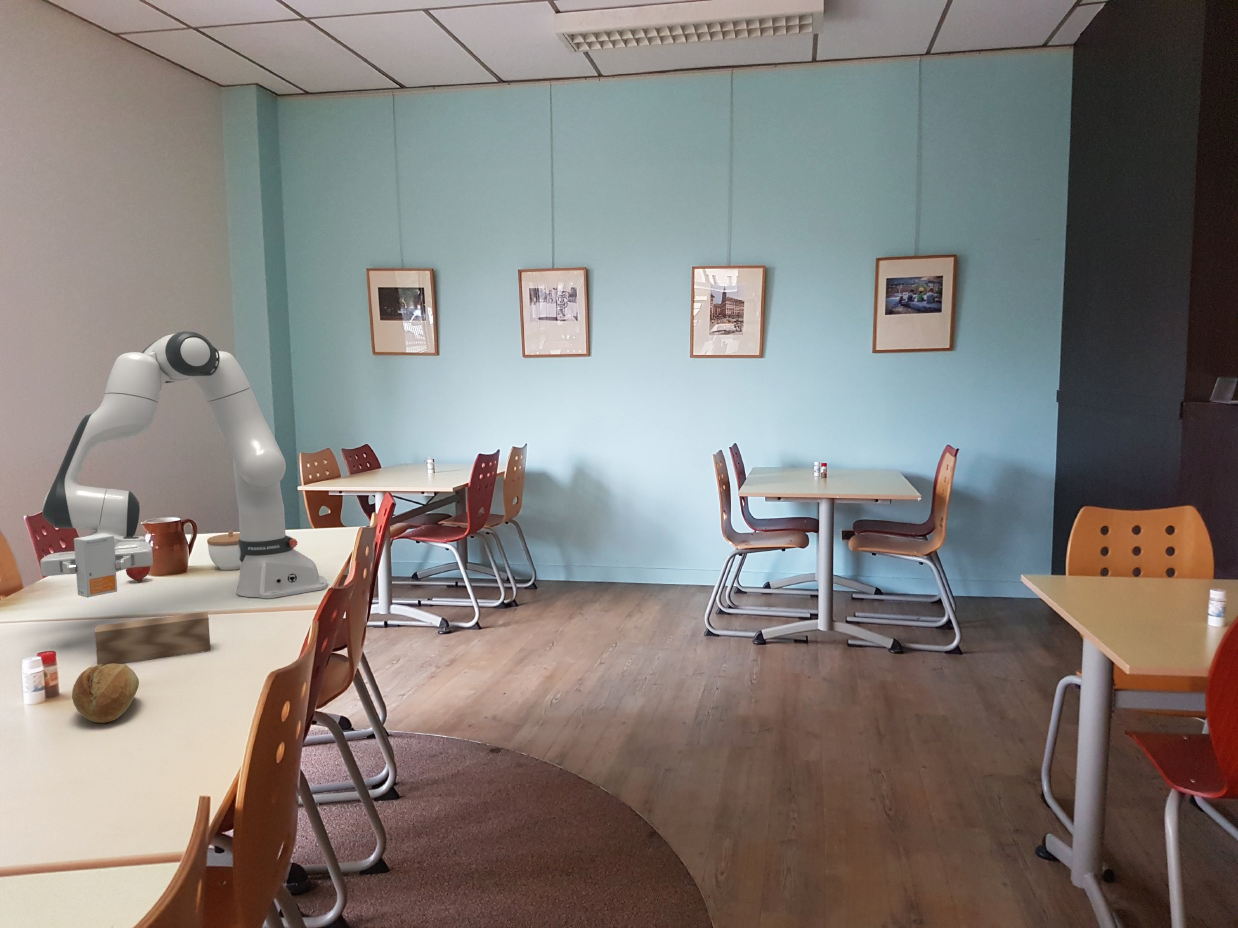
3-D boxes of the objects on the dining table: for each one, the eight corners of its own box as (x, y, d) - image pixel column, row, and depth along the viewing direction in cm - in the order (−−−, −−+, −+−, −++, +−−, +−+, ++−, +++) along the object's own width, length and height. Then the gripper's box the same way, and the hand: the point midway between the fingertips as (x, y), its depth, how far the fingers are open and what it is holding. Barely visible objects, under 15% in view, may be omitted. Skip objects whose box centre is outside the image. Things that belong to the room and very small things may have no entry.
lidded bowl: (264, 565, 251) (262, 529, 250) (225, 574, 240) (223, 536, 239) (239, 560, 258) (237, 525, 257) (200, 569, 247) (197, 532, 246)
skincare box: (87, 598, 170) (82, 540, 168) (77, 595, 172) (72, 538, 171) (119, 591, 175) (114, 535, 174) (108, 588, 177) (104, 533, 176)
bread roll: (68, 734, 134) (64, 686, 133) (79, 702, 148) (75, 658, 147) (137, 722, 139) (134, 675, 138) (142, 692, 152) (139, 649, 151)
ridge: (209, 643, 179) (207, 611, 178) (210, 650, 174) (208, 617, 174) (99, 659, 169) (96, 625, 169) (97, 666, 165) (94, 632, 164)
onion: (126, 585, 229) (124, 556, 228) (127, 580, 234) (125, 552, 233) (150, 582, 231) (148, 554, 231) (151, 578, 237) (149, 550, 236)
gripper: (43, 545, 179) (33, 558, 167) (152, 536, 189) (150, 547, 176) (45, 574, 180) (35, 589, 168) (154, 563, 189) (152, 576, 177)
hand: (95, 567), depth 172 cm, fingers closed on skincare box, 7 cm apart
